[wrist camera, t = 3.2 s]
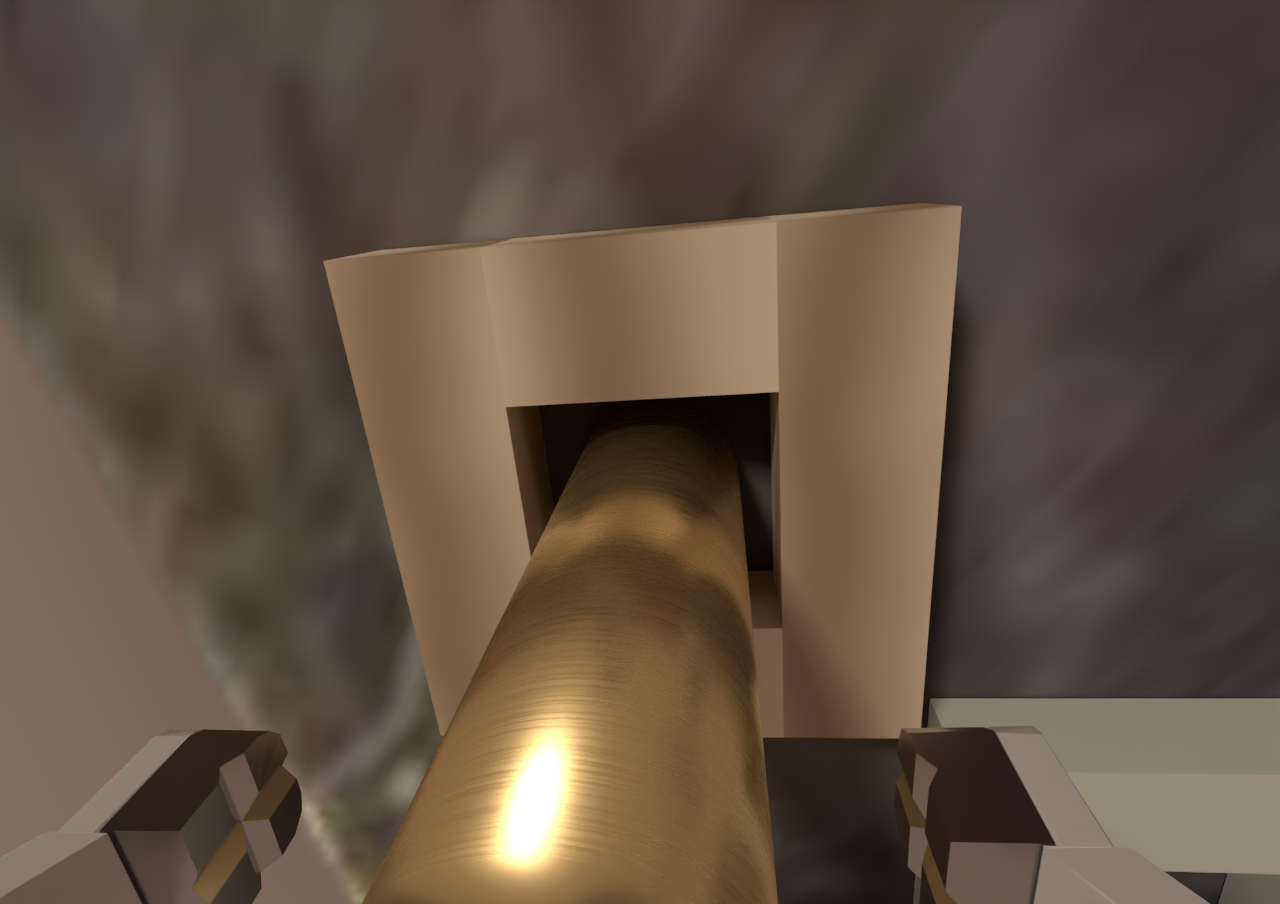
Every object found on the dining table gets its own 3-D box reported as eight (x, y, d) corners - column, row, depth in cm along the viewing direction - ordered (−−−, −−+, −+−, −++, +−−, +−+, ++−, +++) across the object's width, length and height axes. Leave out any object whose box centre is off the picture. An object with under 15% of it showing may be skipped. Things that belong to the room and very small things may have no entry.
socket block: (1422, 698, 17) (1532, 778, 15) (1299, 1000, 21) (1369, 1098, 19) (930, 698, 19) (960, 770, 16) (906, 980, 23) (928, 1069, 21)
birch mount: (920, 203, 14) (961, 206, 12) (894, 669, 18) (919, 738, 16) (381, 250, 16) (323, 261, 13) (472, 671, 20) (440, 735, 18)
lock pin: (735, 396, 16) (787, 863, 5) (740, 544, 18) (791, 1163, 6) (571, 405, 17) (285, 849, 5) (590, 548, 18) (394, 1130, 7)
